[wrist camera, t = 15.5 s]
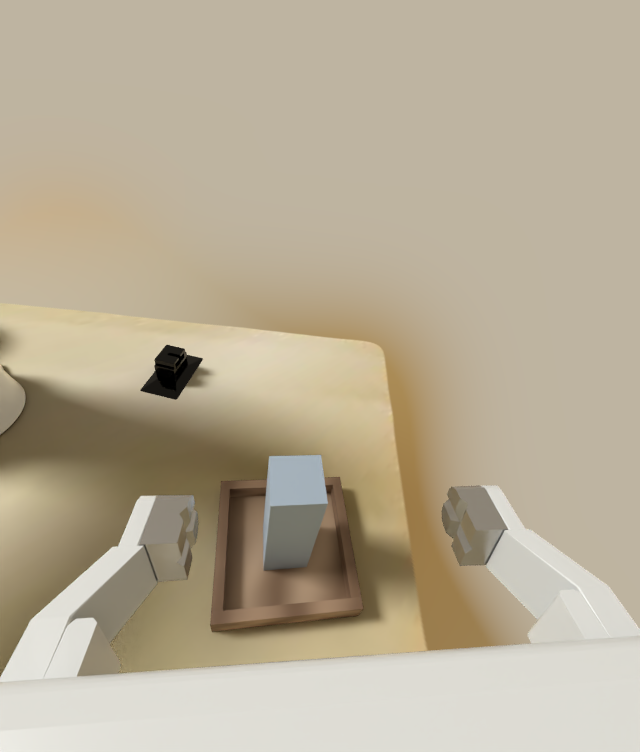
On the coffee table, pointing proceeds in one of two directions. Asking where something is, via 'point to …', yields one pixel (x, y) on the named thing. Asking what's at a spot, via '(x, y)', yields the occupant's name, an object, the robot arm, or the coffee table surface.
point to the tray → (281, 586)
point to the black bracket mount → (171, 372)
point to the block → (292, 510)
